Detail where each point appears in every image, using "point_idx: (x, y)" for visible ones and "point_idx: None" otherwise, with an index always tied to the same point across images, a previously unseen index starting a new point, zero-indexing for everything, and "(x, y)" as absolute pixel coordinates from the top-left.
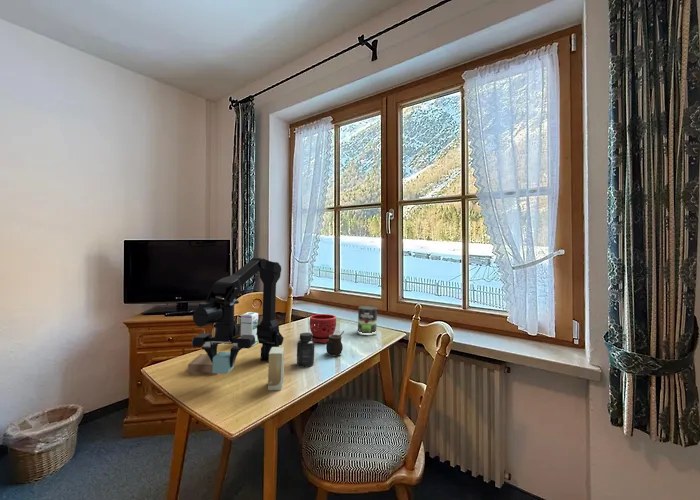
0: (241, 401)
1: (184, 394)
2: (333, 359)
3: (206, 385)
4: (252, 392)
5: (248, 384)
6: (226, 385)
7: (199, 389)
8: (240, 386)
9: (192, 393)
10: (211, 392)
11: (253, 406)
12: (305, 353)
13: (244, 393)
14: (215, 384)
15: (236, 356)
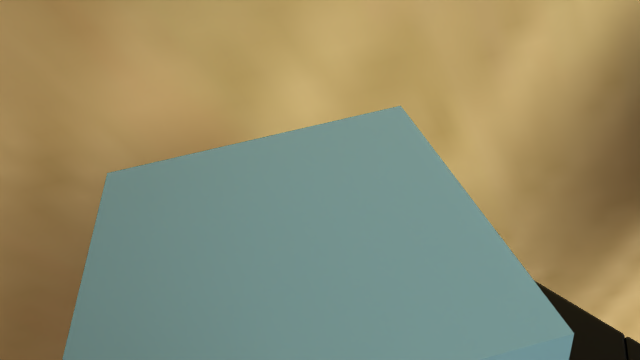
0: (538, 274)
1: (16, 348)
2: None
3: (53, 164)
4: (596, 143)
5: (523, 3)
6: (284, 97)
7: (63, 250)
8: (449, 73)
9: (70, 317)
10: None
11: (629, 291)
12: None
13: (530, 178)
14: (138, 114)
15: (613, 328)
